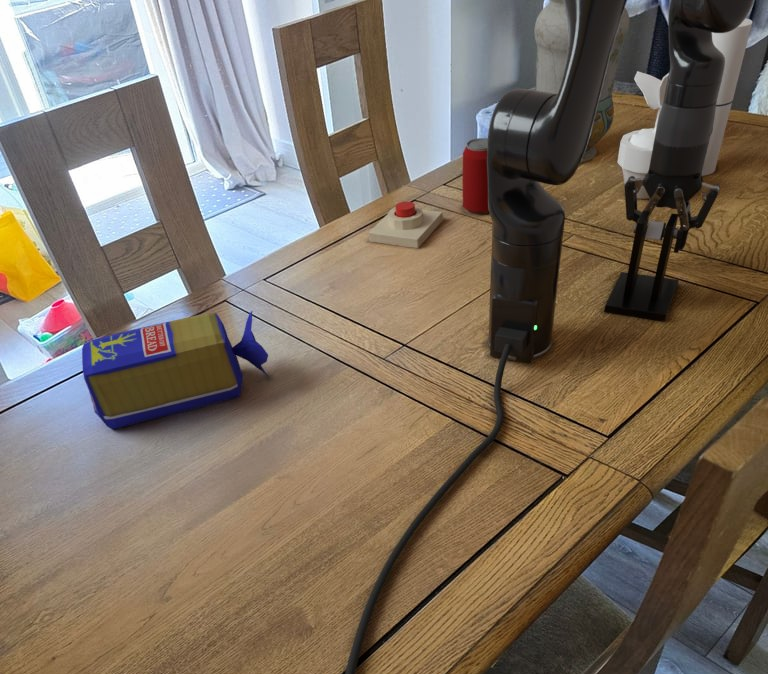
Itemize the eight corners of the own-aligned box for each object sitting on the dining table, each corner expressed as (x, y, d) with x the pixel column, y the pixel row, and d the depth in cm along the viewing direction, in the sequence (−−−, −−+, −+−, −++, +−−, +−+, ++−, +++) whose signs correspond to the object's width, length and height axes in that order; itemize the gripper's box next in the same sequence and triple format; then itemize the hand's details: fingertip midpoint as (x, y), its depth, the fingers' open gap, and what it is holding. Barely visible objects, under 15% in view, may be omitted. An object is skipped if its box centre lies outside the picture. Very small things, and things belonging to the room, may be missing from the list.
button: (410, 220, 129) (409, 210, 127) (392, 217, 130) (392, 208, 129) (418, 211, 131) (417, 202, 129) (400, 209, 132) (400, 200, 131)
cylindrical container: (677, 175, 140) (709, 27, 122) (677, 161, 145) (708, 17, 127) (715, 176, 138) (753, 26, 120) (714, 162, 143) (751, 16, 125)
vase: (622, 145, 153) (648, -24, 132) (592, 175, 144) (616, -2, 122) (545, 135, 161) (558, -26, 139) (512, 163, 151) (521, -6, 129)
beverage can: (496, 200, 139) (499, 135, 130) (497, 215, 134) (499, 149, 125) (462, 201, 140) (463, 137, 131) (462, 216, 135) (462, 150, 126)
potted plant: (687, 196, 133) (723, 43, 115) (636, 210, 131) (664, 56, 113) (646, 175, 141) (674, 29, 123) (597, 188, 139) (618, 40, 121)
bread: (100, 397, 103) (72, 336, 95) (264, 357, 106) (249, 295, 99) (102, 438, 96) (72, 376, 88) (277, 393, 100) (262, 330, 92)
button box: (417, 248, 127) (417, 229, 125) (369, 241, 131) (367, 223, 128) (442, 220, 134) (442, 202, 132) (396, 214, 138) (394, 196, 135)
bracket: (620, 278, 114) (634, 199, 105) (677, 286, 111) (697, 206, 102) (604, 312, 108) (617, 231, 98) (664, 321, 104) (684, 239, 95)
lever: (644, 238, 113) (647, 222, 112) (676, 242, 111) (680, 226, 110) (634, 237, 101) (638, 219, 101) (670, 241, 100) (675, 223, 99)
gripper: (626, 140, 101) (608, 253, 113) (732, 148, 96) (701, 265, 108) (637, 123, 105) (618, 232, 117) (739, 129, 100) (708, 243, 112)
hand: (658, 247), depth 113 cm, fingers closed on lever, 5 cm apart
